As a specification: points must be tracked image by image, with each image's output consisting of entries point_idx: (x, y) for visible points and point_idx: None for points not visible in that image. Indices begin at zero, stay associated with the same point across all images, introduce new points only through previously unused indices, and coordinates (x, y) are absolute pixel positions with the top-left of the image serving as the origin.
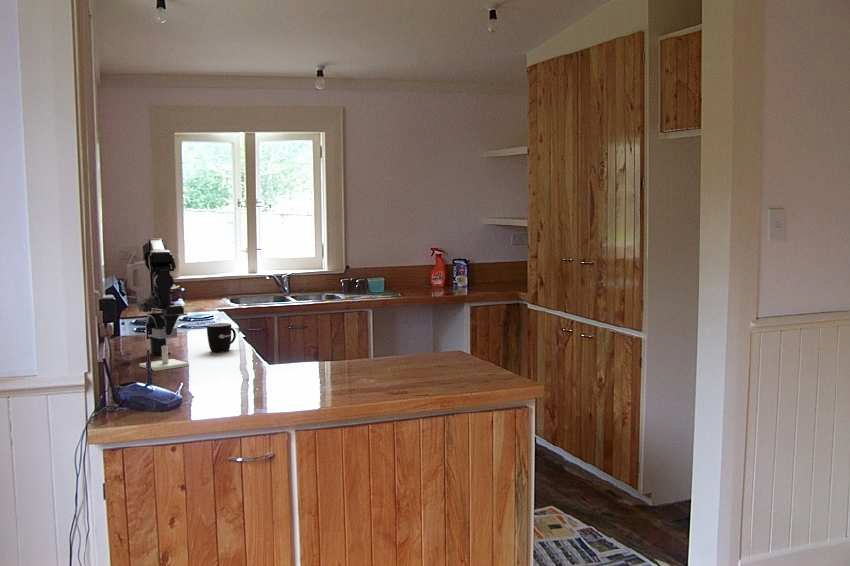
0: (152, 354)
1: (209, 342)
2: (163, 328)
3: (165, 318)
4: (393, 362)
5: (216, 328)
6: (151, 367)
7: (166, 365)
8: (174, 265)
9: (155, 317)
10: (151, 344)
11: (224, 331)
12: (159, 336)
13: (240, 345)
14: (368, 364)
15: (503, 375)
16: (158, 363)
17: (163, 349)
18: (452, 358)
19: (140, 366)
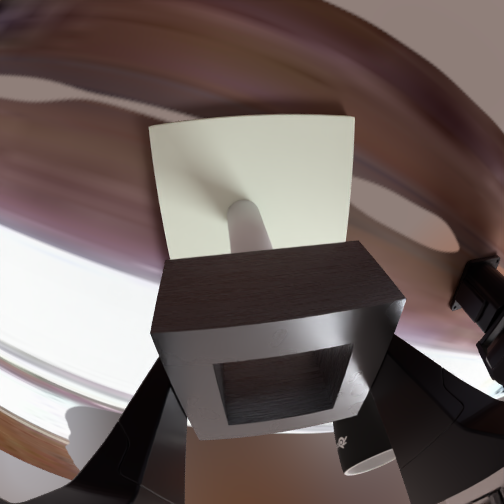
0: (477, 261)
1: (374, 408)
2: (337, 383)
3: (46, 498)
4: (40, 453)
5: (357, 457)
6: (197, 119)
7: (180, 199)
8: None
9: (460, 439)
10: (502, 281)
11: (341, 457)
12: (184, 272)
13: None
14: (33, 443)
15: None
16: (276, 189)
17: (237, 244)
18: (50, 469)
19: (338, 115)
